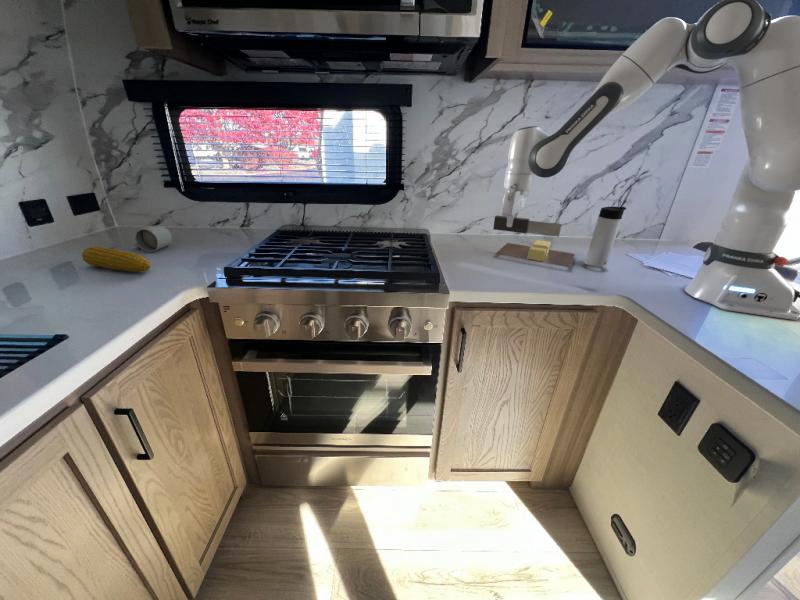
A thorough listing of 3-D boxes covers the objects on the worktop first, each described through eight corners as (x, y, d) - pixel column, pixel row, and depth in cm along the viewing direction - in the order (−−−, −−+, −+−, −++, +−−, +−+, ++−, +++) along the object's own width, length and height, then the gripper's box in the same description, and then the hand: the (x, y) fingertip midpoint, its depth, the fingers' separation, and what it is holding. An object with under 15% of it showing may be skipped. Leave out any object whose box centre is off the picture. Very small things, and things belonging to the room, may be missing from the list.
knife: (559, 235, 108) (562, 222, 106) (558, 237, 106) (561, 223, 104) (495, 228, 117) (496, 215, 115) (493, 229, 115) (494, 216, 113)
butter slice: (544, 259, 111) (546, 249, 110) (543, 261, 109) (545, 251, 108) (528, 256, 114) (530, 246, 112) (527, 258, 111) (529, 248, 110)
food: (82, 268, 94) (74, 248, 91) (102, 262, 99) (95, 243, 96) (143, 276, 90) (137, 255, 88) (161, 269, 95) (155, 249, 93)
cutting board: (573, 257, 119) (574, 253, 118) (569, 271, 105) (570, 267, 105) (506, 246, 129) (507, 242, 129) (494, 257, 116) (495, 253, 115)
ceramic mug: (176, 245, 116) (170, 223, 113) (161, 252, 109) (153, 229, 105) (147, 244, 116) (140, 222, 113) (129, 251, 109) (121, 228, 106)
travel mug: (609, 272, 106) (630, 208, 97) (587, 270, 107) (605, 207, 99) (602, 266, 112) (621, 205, 103) (581, 264, 113) (598, 204, 104)
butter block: (548, 251, 120) (550, 242, 118) (545, 256, 114) (548, 246, 113) (534, 248, 122) (536, 239, 121) (530, 253, 117) (532, 244, 115)
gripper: (521, 186, 97) (513, 233, 103) (533, 181, 113) (526, 221, 119) (499, 184, 100) (493, 230, 106) (515, 179, 116) (508, 219, 122)
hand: (510, 225), depth 113 cm, fingers closed on knife, 2 cm apart
